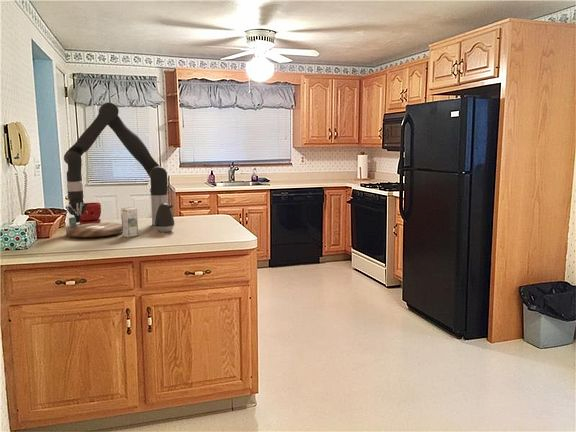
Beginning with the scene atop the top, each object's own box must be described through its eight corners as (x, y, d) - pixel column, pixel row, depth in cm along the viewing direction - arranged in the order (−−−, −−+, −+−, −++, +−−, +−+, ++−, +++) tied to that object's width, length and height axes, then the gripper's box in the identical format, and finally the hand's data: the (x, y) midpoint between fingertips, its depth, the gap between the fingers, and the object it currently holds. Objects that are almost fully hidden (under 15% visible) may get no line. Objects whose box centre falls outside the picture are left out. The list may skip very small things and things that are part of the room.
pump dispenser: (170, 233, 245) (168, 205, 243) (151, 233, 248) (150, 204, 245) (178, 230, 255) (177, 202, 253) (160, 229, 257) (159, 201, 255)
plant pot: (106, 221, 280) (104, 201, 278) (95, 226, 267) (93, 205, 265) (85, 221, 281) (83, 201, 279) (73, 225, 268) (71, 204, 266)
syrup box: (132, 234, 244) (130, 206, 241) (138, 236, 240) (137, 207, 238) (122, 236, 240) (120, 208, 237) (128, 237, 236) (127, 209, 233)
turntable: (132, 226, 257) (132, 214, 256) (108, 237, 230) (107, 223, 229) (84, 225, 260) (83, 213, 259) (54, 236, 233) (53, 222, 232)
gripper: (79, 188, 254) (82, 219, 257) (59, 191, 242) (62, 224, 245) (90, 188, 251) (92, 220, 254) (70, 191, 239) (73, 225, 242)
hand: (77, 222), depth 250 cm, fingers closed
